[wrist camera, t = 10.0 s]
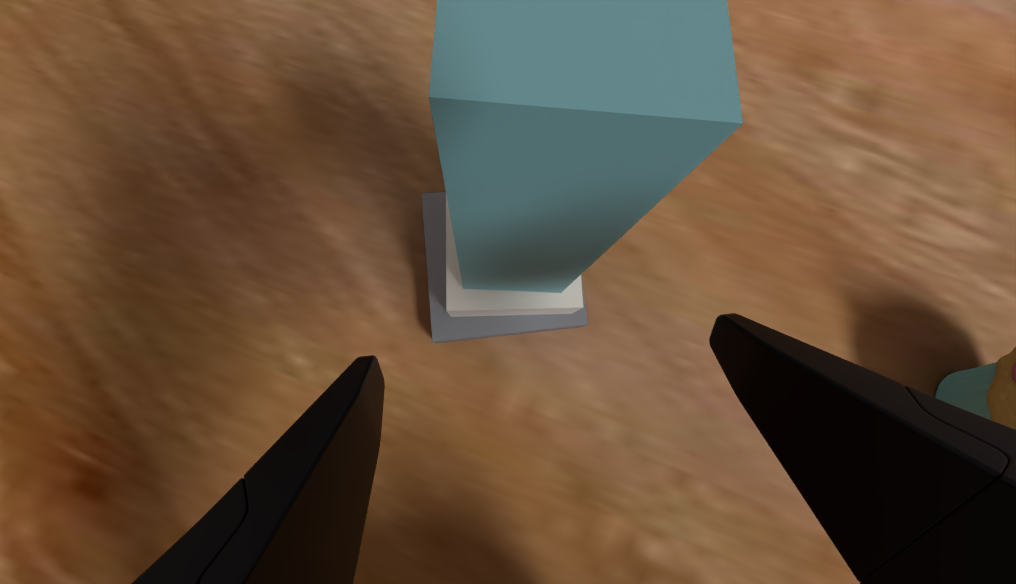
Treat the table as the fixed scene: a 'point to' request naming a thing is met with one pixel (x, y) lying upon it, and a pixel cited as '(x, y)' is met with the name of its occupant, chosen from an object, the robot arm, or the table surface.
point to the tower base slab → (473, 326)
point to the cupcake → (984, 390)
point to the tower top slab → (501, 293)
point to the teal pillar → (571, 124)
